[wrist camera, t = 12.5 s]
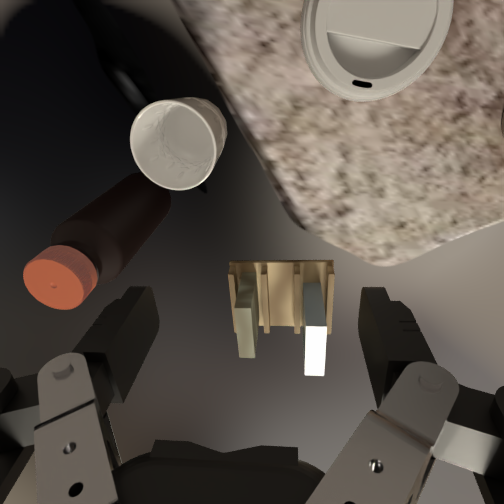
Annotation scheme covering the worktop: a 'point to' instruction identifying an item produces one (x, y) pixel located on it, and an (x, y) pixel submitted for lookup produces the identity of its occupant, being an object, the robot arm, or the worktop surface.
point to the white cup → (178, 141)
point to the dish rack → (274, 296)
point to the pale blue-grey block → (314, 329)
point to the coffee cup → (372, 43)
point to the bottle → (97, 242)
